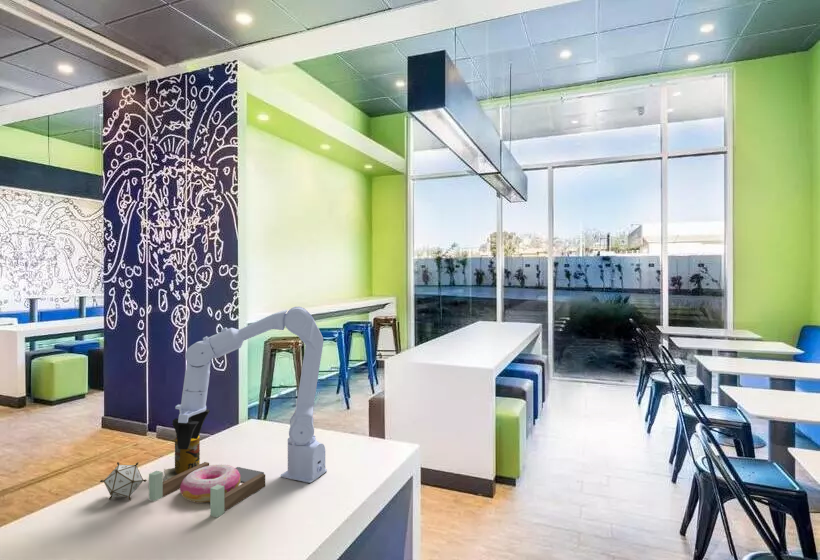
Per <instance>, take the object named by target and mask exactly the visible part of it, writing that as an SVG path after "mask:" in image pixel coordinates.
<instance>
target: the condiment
mask: <svg viewBox="0 0 820 560" xmlns="http://www.w3.org/2000/svg"><path fill="white" fill-rule="evenodd" d="M175 436H176V437H175V439H174V467H172V468H171V467H170V468H165V469H164V473H165V474H164V475H165V477H166V480H167V479H169V478H171V477H173V476H176V475H178V474H180V473H182V472H184V471H186V470H189V469H191V468H193V467H195V466H197V465H199V464H201V463H200V461H201V460H200V459H201V457H200V455H201V452H200V451H201V450H200V447H201V446H200V444H201V443H200V442H201V441H200V437H201V436H200V435H199V436H198V438H197V439H191V442H190V445H189V447H188V449H178V443H177V435H176V434H175Z"/></svg>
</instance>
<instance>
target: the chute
mask: <svg viewBox="0 0 820 560" xmlns="http://www.w3.org/2000/svg"><path fill="white" fill-rule="evenodd" d="M206 466H210V462H207V461H204V462H202V463H200V464H199V465H197V466H195V467H193V468H191V469H189V470H186V471H184V472H182V473H180V474H178V475H176V476H173V477H171V478H169V479H167V478H166V479H165V480H163V477H164V476H163V474H164V472H163V471H160V470H155V471H153V472H150V473H148V500H149V501H153V502H156V501H159V500H160V499H162V498H164V497H166V496H168V495H170V494H173V493H174V492H176V491H178V490H180V486H181V483H182V481H183V479H184V478H185V477H186V476H187V475H188V474H190V473H191V472H193V471H194V470H197V469H199V468H202V467H206ZM265 487H266V474H265V473H264V474H261V473H260V474H259V475H257V476H255V477H253V478H252V479H250V480H248V481H246V482H245V483H241V484H239V486H238V487H236V488H234V489H232V490H231V491H229V492H227V493H225V494H224V486H222V485H218V484H217V485H216V486H214V487H212V488H210V502H209V503H210V510H209V511H210V512H209V513H210V514H209V515H210V517H215V518H219V517H221V516H223V515H224V514H225V513H226V511H228V510H229V509H231V508H232V507H234V506H236V505H238V504H239V503H241V502H243V501H244V500H246V499H248V498H249V497H250V496H252V495H253V494H255V493H257V492H258V491H260V490H262V489H263V488H265Z"/></svg>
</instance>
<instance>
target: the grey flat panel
mask: <svg viewBox="0 0 820 560" xmlns="http://www.w3.org/2000/svg"><path fill="white" fill-rule="evenodd" d="M235 468H236V469H237V470H238V472H239V473H240V483H241V484H243V483H245V482H246V481H248V480H250V479H252V478H253V477H255V476H257V475H259V474H260V473H261V474H265V472H264V471H260V470H255V469H249V468H245V467H241V466H237V467H236V466H235Z"/></svg>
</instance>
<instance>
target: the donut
mask: <svg viewBox="0 0 820 560" xmlns="http://www.w3.org/2000/svg"><path fill="white" fill-rule="evenodd" d="M240 483H241V482H240V473H239V472H238V470H237V469H236V467H234V466H232V465H230V464H222V463H221V464H212V465H210V464H209V466H206V467H202V468H199V469H197V470H194V471H193V472H191V473H190V474H188V475H187V476H186V477H185V478H184V479H183V481H182V483H181V486H180V489H179V492H180V494H181V496H182V497H183V499H186V500H187V501H189V502H193V503H205V504H206V503H210V488H212V487H214V486H216V485H217V484H218V485H222V486H224V494H225V493H227V492H229V491H231V490H232V489H234V488H236V487H238V486H239V485H241V484H240Z"/></svg>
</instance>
